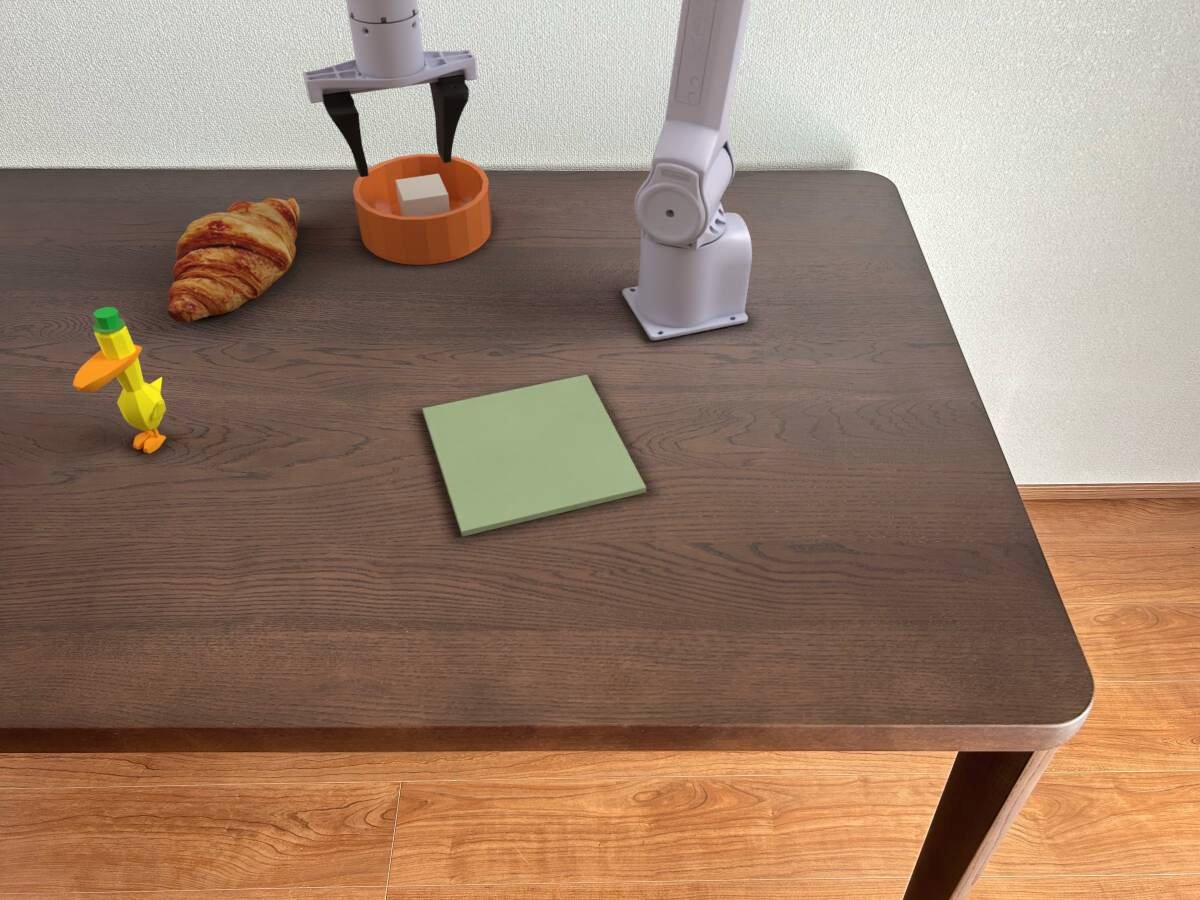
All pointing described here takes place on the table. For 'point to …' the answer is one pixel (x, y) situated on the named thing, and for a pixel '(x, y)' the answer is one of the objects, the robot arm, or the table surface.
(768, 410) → the table surface
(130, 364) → the toy figure
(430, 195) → the block
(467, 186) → the bowl
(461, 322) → the table surface
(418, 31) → the robot arm
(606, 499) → the mat
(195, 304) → the croissant
